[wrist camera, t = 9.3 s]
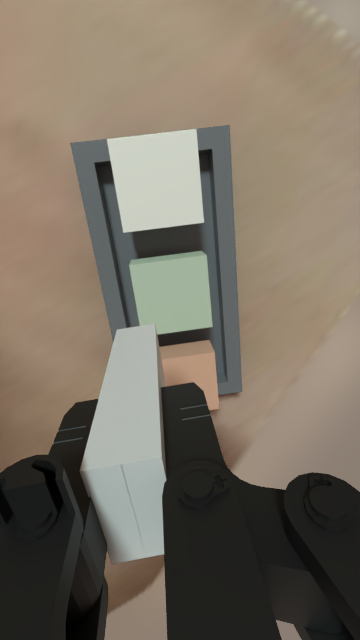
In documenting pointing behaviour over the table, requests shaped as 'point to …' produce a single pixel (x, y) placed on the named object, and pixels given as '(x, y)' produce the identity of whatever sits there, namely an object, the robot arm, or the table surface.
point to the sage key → (172, 291)
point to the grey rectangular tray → (169, 247)
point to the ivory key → (157, 180)
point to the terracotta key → (192, 368)
